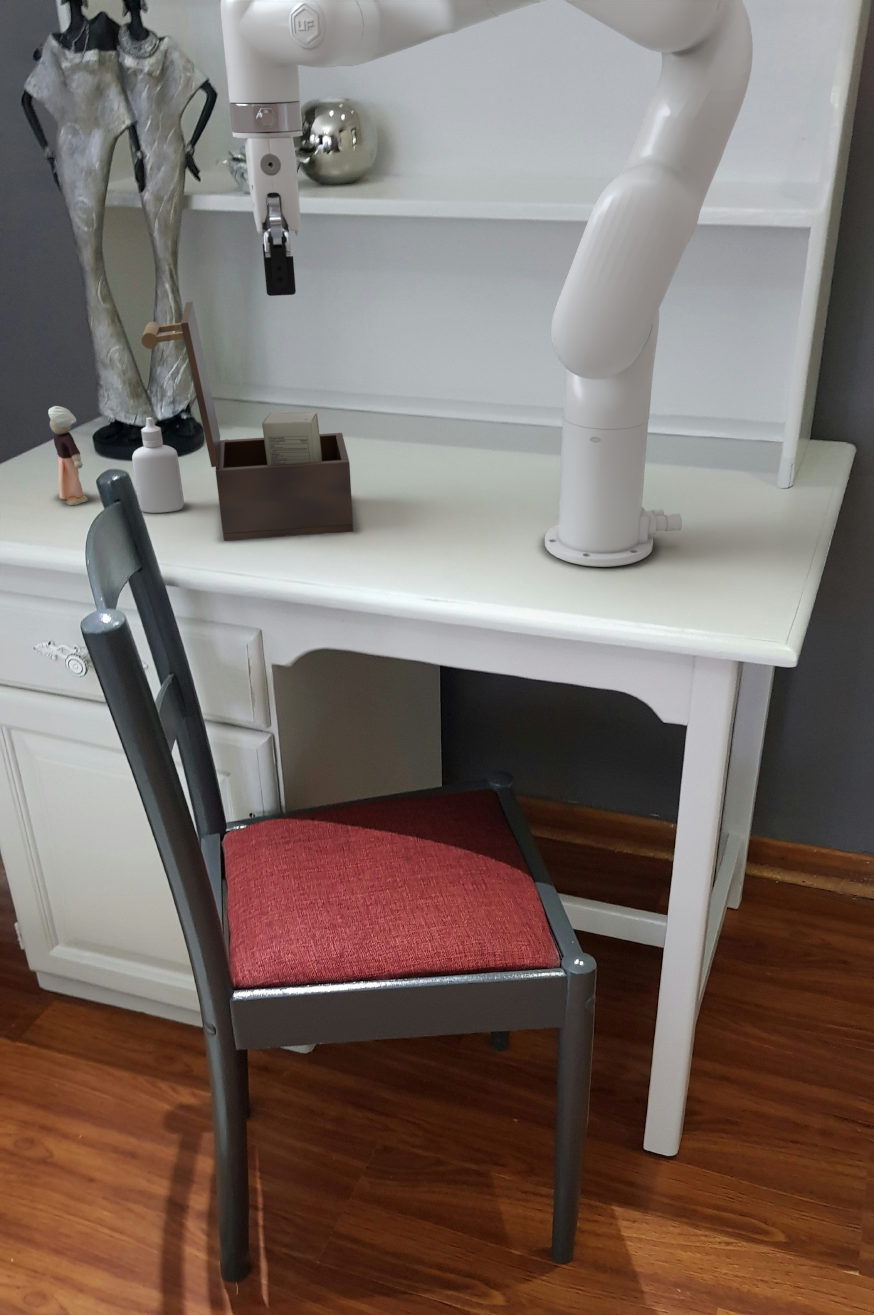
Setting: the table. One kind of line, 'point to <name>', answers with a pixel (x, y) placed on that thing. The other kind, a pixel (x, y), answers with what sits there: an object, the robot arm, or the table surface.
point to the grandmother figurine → (66, 456)
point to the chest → (283, 491)
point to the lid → (197, 371)
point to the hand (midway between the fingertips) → (280, 286)
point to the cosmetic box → (292, 438)
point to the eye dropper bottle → (157, 473)
